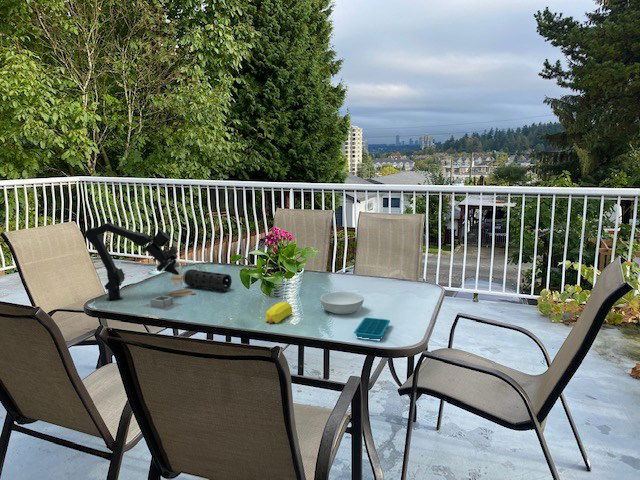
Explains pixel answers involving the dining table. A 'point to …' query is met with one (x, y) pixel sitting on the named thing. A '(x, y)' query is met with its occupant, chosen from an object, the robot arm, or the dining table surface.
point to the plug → (177, 276)
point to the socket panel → (162, 303)
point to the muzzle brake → (207, 280)
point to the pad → (181, 292)
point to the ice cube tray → (372, 328)
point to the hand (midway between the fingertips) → (179, 273)
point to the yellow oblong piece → (278, 312)
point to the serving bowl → (342, 302)
